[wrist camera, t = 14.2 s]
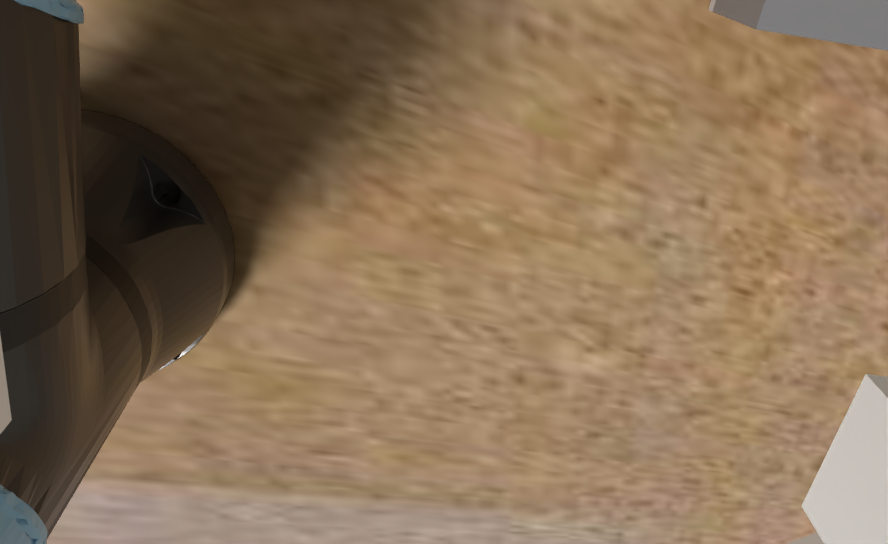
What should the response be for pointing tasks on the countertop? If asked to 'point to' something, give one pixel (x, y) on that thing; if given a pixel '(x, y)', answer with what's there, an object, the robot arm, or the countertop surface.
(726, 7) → the well
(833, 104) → the countertop surface
